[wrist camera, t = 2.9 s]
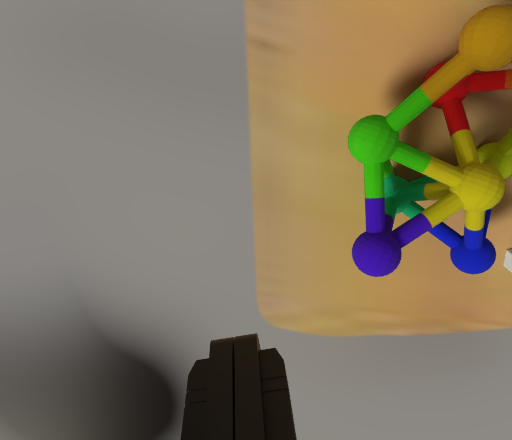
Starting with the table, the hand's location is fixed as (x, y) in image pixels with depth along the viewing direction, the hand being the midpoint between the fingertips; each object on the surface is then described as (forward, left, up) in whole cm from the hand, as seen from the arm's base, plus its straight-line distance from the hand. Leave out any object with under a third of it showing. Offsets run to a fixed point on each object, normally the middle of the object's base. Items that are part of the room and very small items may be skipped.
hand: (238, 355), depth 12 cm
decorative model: (0, +13, -16) cm, 20 cm away
